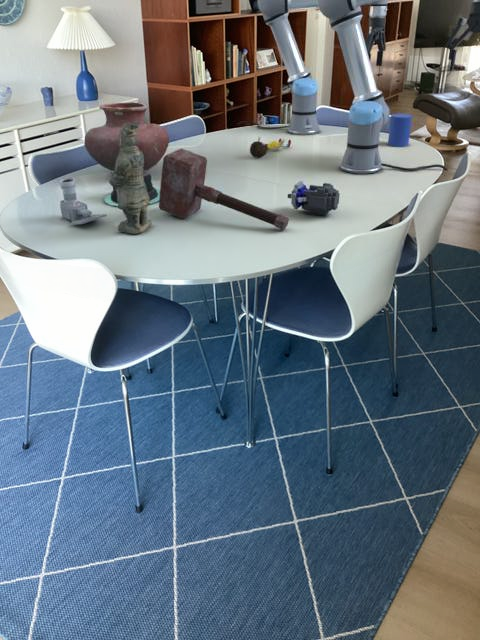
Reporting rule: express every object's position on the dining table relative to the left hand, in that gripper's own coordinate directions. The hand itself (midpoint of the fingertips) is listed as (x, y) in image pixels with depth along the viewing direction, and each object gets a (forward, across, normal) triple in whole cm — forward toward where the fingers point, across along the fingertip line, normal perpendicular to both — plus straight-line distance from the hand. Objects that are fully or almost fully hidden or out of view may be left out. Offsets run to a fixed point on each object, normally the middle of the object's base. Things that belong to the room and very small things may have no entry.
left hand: (372, 67), depth 266 cm
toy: (+27, -127, -42) cm, 136 cm away
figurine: (+27, -72, +11) cm, 77 cm away
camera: (+27, -172, +13) cm, 174 cm away
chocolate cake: (+27, -147, +16) cm, 150 cm away
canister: (+27, -30, -29) cm, 49 cm away
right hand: (-7, -54, -61) cm, 82 cm away
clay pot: (+27, -126, +39) cm, 135 cm away
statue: (+27, -168, -6) cm, 170 cm away
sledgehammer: (+27, -148, -23) cm, 152 cm away
